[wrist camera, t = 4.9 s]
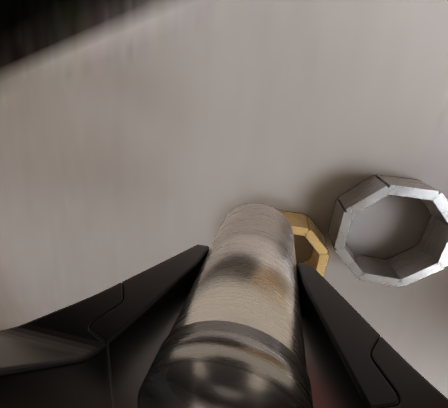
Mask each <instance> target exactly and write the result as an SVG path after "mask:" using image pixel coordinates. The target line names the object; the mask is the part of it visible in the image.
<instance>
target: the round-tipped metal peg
mask: <svg viewBox="0 0 448 408" xmlns="http://www.w3.org/2000/svg"><path fill="white" fill-rule="evenodd" d="M137 405H138V408H313V399H312V389H311V384H310V379H309V376H308V374H307V367H306V357H305V347H304V337H303V327H302V317H301V307H300V297H299V287H298V277H297V267H296V257H295V247H294V236H293V230H292V227H291V225H290V223H289V221H288V220H287V218H286V217H285V216H284V215H283V214H282V213H281V212H280V211H278V210H277V209H275V208H273V207H271V206H268V205H265V204H260V203H250V204H245V205H241V206H239V207H237V208H235V209H234V210H232V211H231V212H230V213H229V214H228V215H227V216H226V218H225V219H224V221H223V223H222V225H221V227H220V230H219V232H218V234H217V236H216V238H215V240H214V242H213V244H212V246H211V248H210V250H209V252H208V254H207V257H206V259H205V261H204V263H203V265H202V267H201V269H200V271H199V273H198V275H197V277H196V279H195V281H194V284H193V286H192V288H191V290H190V292H189V294H188V296H187V298H186V300H185V302H184V304H183V306H182V308H181V311H180V313H179V315H178V317H177V319H176V321H175V323H174V325H173V327H172V329H171V331H170V333H169V335H168V337H167V338H166V339H165V340H164V341H163V343H162V344H161V346H160V348H159V350H158V352H157V354H156V356H155V358H154V360H153V363H152V365H151V367H150V369H149V371H148V373H147V375H146V377H145V379H144V381H143V383H142V385H141V387H140V389H139V393H138V398H137Z"/></svg>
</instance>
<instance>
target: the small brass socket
mask: <svg viewBox="0 0 448 408" xmlns="http://www.w3.org/2000/svg"><path fill="white" fill-rule="evenodd" d="M278 211H280V210H278ZM280 212H281V213H282V214H283V215H284V216H285V217H286V218H287V220H288V221H289V223H290V225H291V227H292V230H293V234H296V235H303V236H305V237H306V238H307V239H308V241H309V242H310V243H311V244H312V246H313V252H312V256H311V258H310V259H308V260H306V261H305V262H303V263H306V264H310V265H312V266H313V267H314V268H315V269H316V270H317V271H318V272H319V273H320V275H321V276H322V277H324V273H325V269H326V265H327V262H328V258H329V252H328V248H327V245H326V242H325V239H324V236H323V235H322V233H321V232H320V231H319V230H318V228H317V227H316V226H315V224H314V223H313V222H312V221H311V219H310V218H309V217H308V216H306V215H305V214H300V213H293V212H286V211H280ZM296 267H297V266H296Z"/></svg>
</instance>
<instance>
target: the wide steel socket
mask: <svg viewBox="0 0 448 408" xmlns="http://www.w3.org/2000/svg"><path fill="white" fill-rule="evenodd" d="M388 195H397V196H404V197H412V198H420V199H421V200H422V201H423V203H424V204H425V206H426V207H427V209H428V210H429V212H430V213H431V217H430V219H429V221H428V224H427V226H426V229H425V231H424V234H423V236H422V239H421V241H420V244H419V245H416V246H414V247H412V248H410V249H408V250H406V251H404V252H402V253H400V254H398V255H396V256H394V257H392V258H390V259H388V260H386V259H380V258H375V257H369V256H363V255H357V254H354V253H353V252H352V250H351V249H350V248H349V247H348V245H347V244H346V243H345V242H346V239H347V236H348V232H349V229H350V225H351V222H352V218H353V215H355V214H357V213H358V212H360V211H362V210H364V209H365V208H367V207H369V206H371V205H372V204H374V203H376V202H378V201H379V200H381V199H383V198H385V197H386V196H388ZM338 198H339V199H340V200H339V199H337V200H336V204H335V208H334V211H333V215H332V219H331V223H330V227H329V231H328V232H329V236H330V239H331V241H332V244H333V247H334V249H335V251H336V252H337V254H338V255H339V256H340V258H341V259H342V260H343V261H344V263H345V264H346V265H347V267H348V268H349V269H350V270H351V272H352V273H353V274H354V276H355V277H356V278H358V279H359V280H364V281H369V282H375V283H381V284H386V285H392V286H397V287H401V284H402V286H403V287H404V286H406V285H408V284H411V283H413V282H415V281H418V280H420V279H422V278H425V277H427V276H429V275H431V274H434V273H436V272H438V271H441V270H443V269H445V268H444V267H443V266H446V267H447V266H448V201H447V200H446V198H445V196H444V195H443V193H442V192H440V191H438V190H436V189H434V188H433V187H431V186H429V185H427V184H425V183H424V182H422V181H420V180H416V179H407V178H399V177H391V176H383V175H376V177H375V176H374V175H373V176H372V177H370V178H368V179H367V180H365V181H364V182H362V183H360V184H359V185H357V186H355V187H354V188H352V189H351V190H349V191H347V192H346V193H344V194H342V195H341V196H339V197H338Z"/></svg>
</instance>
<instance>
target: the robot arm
mask: <svg viewBox="0 0 448 408" xmlns="http://www.w3.org/2000/svg"><path fill="white" fill-rule="evenodd" d="M208 252H209V247H208V246H203V245H196V246H194V247H192V248H190V249H188V250H186V251H184V252H182V253H180V254H178V255H176V256H174V257H172V258H170V259H168V260H166V261H164V262H162V263H160V264H158V265H156V266H154V267H152V268H150V269H148V270H146V271H144V272H141V273H139V274H137V275H135V276H133V277H131V278H129V279H127V280H125V281H123V282H122V283H119V284H117V285H115V286H113V287H111V288H109V289H107V290H105V291H102V292H100V293H98V294H96V295H94V296H92V297H89V298H87V299H84V300H82V301H80V302H77V303H75V304H73V305H70V306H68V307H65V308H63V309H60V310H58V311H55V312H53V313H50V314H48V315H45V316H43V317H40V318H38V319H35V320H33V321H30V322H28V323H25V324H23V325H20V326H17V327H14V328H10V329H6V330H1V331H0V408H138V405H137V398H138V393H139V389H140V387H141V385H142V383H143V381H144V379H145V377H146V375H147V373H148V371H149V369H150V367H151V365H152V363H153V360H154V358H155V356H156V354H157V352H158V350H159V348H160V346H161V344H162V343H163V341H164V340H165V339H166V338H167V337H168V335H169V333H170V331H171V329H172V327H173V325H174V323H175V321H176V319H177V317H178V315H179V313H180V311H181V308H182V306H183V304H184V302H185V300H186V298H187V296H188V294H189V292H190V290H191V288H192V286H193V284H194V281H195V279H196V277H197V275H198V273H199V271H200V269H201V267H202V265H203V263H204V261H205V259H206V257H207V254H208ZM297 277H298V287H299V297H300V307H301V317H302V327H303V337H304V347H305V357H306V367H307V374H308V376H309V379H310V384H311V389H312V399H313V408H448V399H447V398H446V397H445V396H444V395H443V394H441V393H440V392H439V391H438V390H437V389H436V388H435V387H434V386H432V385H431V384H430V383H429V382H428V381H427V380H426V379H425V378H424V377H423V376H421V375H420V374H419V373H418V372H417V371H416V370H415V369H414V368H413V367H412V366H411V365H410V364H409V363H407V362H406V361H405V360H404V359H403V358H402V357H401V356H400V355H399V354H398V353H397V352H396V351H395V350H394V349H393V348H392V347H391V346H390V345H389V344H388V343H387V342H386V341H385V340H384V339H383V338H382V337H380V335H379V334H378V333H377V332H376V331H375V330H374V329H373V328H372V327H371V325H370V324H369V323H368V322H367V321H366V320H365V319H364V318H363V317H362V316H361V315H360V314H359V313H358V312H357V311H356V310H355V309H354V308H353V307H352V306H351V305H350V304H349V303H348V302H347V301H346V300H345V299H344V298H343V297H342V296H341V295H340V294H339V293H338V292H337V291H336V290H335V289H334V288H333V287H332V286H331V285H330V284H329V283H328V282H327V281H326V280H325V279H324V278H323V277H322V276H321V275H320V273H319V272H318V271H317V270H316V269H315V268H314V267H313V266H312V265H310V264H306V263H298V264H297Z"/></svg>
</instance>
